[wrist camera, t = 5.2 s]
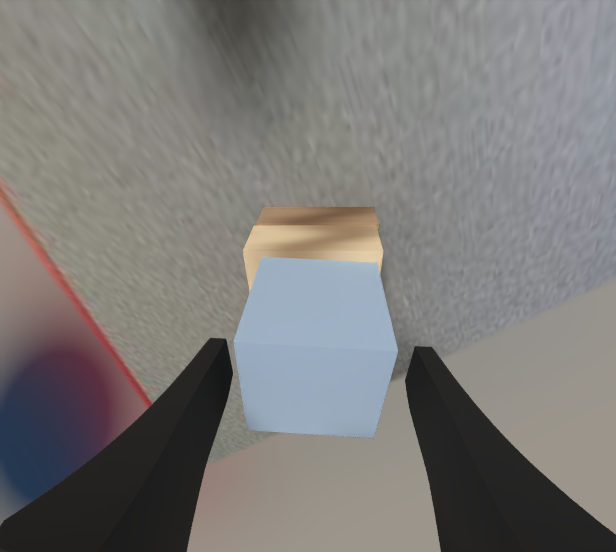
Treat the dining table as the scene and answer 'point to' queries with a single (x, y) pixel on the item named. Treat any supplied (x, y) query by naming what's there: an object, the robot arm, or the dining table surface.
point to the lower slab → (317, 216)
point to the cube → (315, 348)
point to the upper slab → (312, 244)
